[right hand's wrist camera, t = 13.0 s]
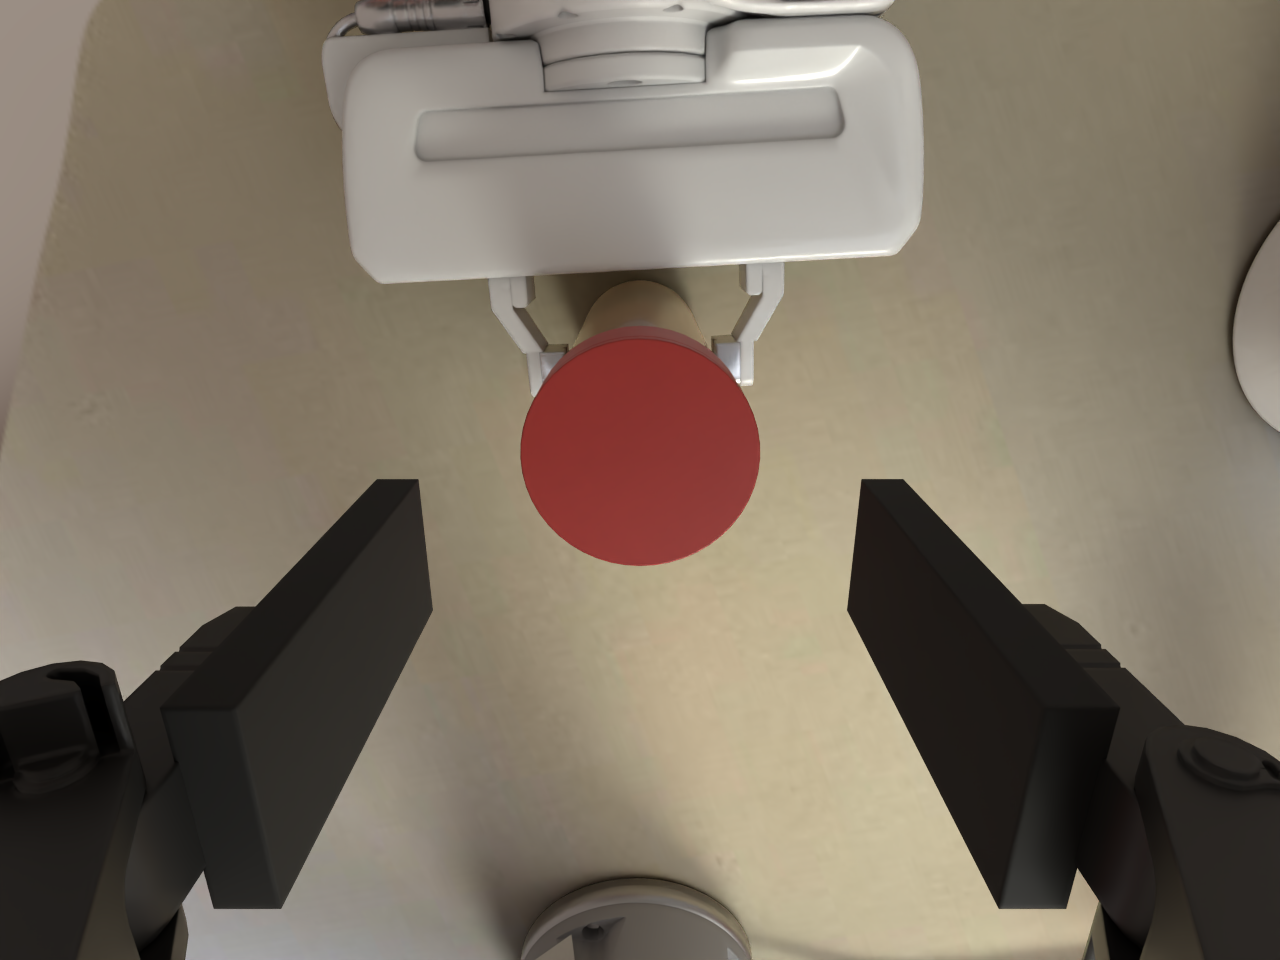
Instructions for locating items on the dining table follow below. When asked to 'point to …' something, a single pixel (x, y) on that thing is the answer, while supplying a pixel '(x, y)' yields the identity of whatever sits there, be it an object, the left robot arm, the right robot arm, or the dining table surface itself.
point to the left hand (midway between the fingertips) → (642, 388)
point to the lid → (640, 447)
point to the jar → (640, 311)
